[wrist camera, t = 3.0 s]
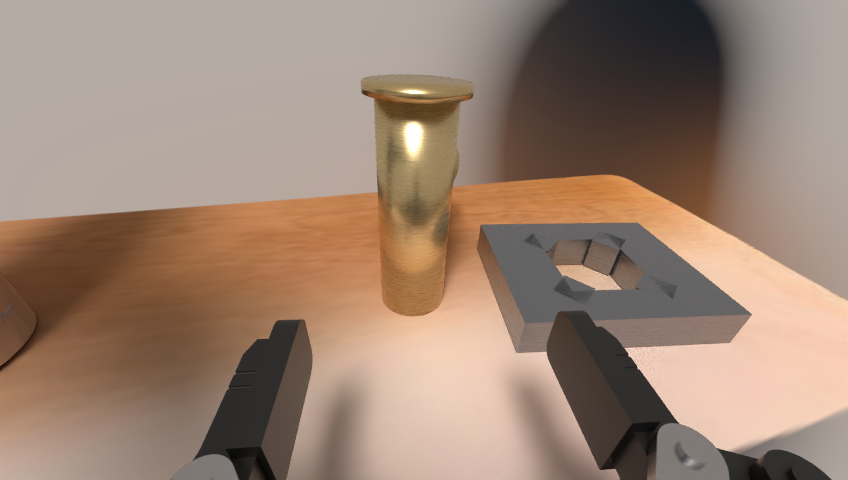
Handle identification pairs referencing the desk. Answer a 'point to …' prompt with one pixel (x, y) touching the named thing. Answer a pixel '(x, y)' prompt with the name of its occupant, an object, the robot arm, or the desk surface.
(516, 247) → the jig
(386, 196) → the rivet
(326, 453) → the desk surface
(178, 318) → the desk surface
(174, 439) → the desk surface
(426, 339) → the desk surface
